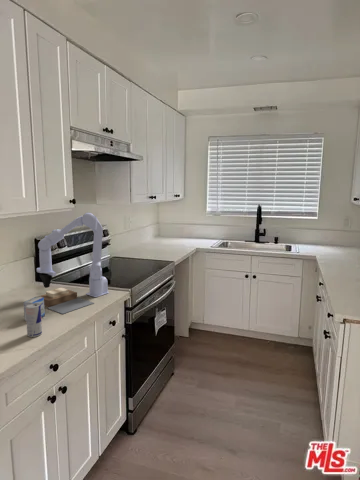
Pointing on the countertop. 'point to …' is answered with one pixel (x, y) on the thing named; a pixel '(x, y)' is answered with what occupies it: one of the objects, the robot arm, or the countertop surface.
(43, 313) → the medicine box
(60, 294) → the birch tile
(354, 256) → the countertop surface
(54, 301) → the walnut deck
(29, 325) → the energy drink
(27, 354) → the countertop surface
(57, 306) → the slate mat
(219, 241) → the countertop surface
